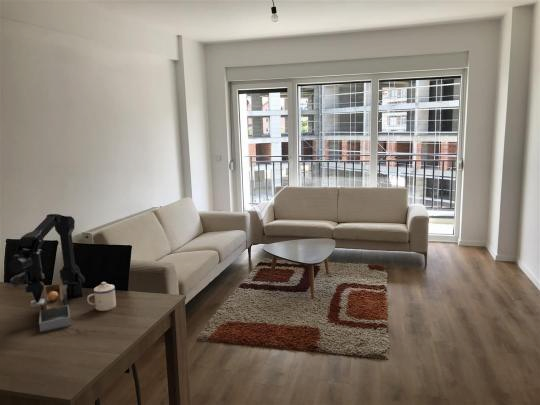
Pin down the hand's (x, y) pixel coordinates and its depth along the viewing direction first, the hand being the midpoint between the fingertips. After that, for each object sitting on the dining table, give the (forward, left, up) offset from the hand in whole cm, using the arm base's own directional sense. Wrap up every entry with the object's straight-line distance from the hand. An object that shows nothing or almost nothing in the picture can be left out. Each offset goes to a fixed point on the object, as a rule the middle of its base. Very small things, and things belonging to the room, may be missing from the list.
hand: (37, 301), depth 177 cm
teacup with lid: (-25, -1, -9) cm, 26 cm away
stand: (-6, -7, -9) cm, 12 cm away
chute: (-4, -7, -5) cm, 9 cm away
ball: (-6, -5, -1) cm, 8 cm away
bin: (-6, +5, -9) cm, 11 cm away
